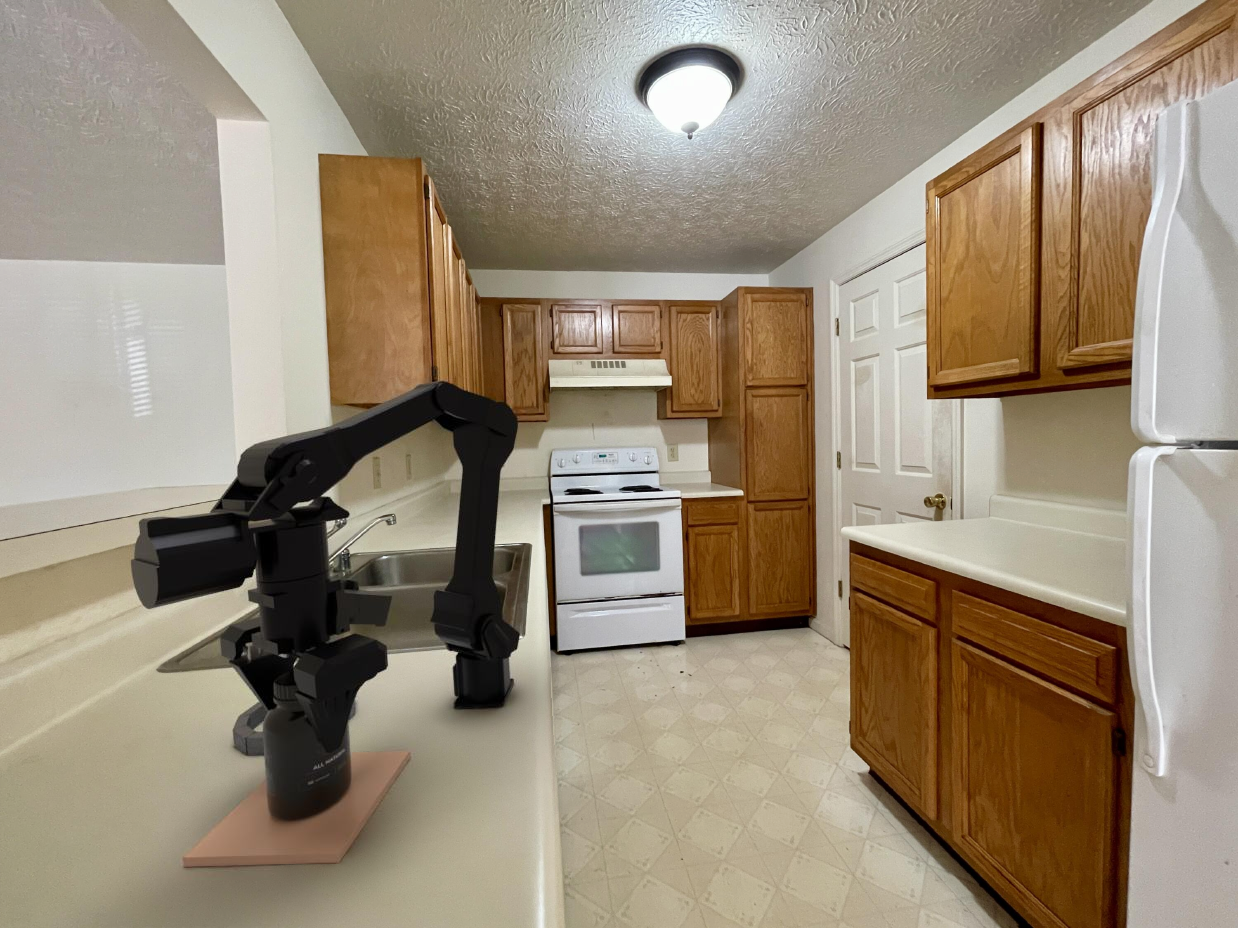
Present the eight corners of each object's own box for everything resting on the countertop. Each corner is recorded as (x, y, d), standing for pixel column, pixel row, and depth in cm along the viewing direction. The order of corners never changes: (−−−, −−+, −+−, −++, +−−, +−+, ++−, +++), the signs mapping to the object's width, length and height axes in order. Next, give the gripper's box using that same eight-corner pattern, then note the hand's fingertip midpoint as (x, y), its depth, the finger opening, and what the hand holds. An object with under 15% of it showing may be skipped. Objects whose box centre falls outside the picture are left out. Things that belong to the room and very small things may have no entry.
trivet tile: (410, 757, 52) (409, 750, 52) (339, 862, 39) (338, 853, 39) (292, 761, 53) (292, 754, 53) (183, 866, 40) (182, 857, 40)
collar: (373, 694, 66) (372, 680, 66) (315, 753, 54) (314, 735, 54) (285, 697, 67) (284, 683, 67) (207, 756, 54) (205, 739, 54)
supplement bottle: (336, 817, 43) (326, 687, 43) (252, 830, 42) (241, 697, 42) (363, 766, 50) (355, 653, 50) (291, 777, 49) (282, 661, 48)
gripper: (432, 562, 47) (442, 717, 48) (328, 547, 57) (338, 676, 57) (311, 597, 38) (327, 789, 38) (211, 572, 47) (225, 726, 48)
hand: (307, 735), depth 46 cm, fingers open, 9 cm apart
